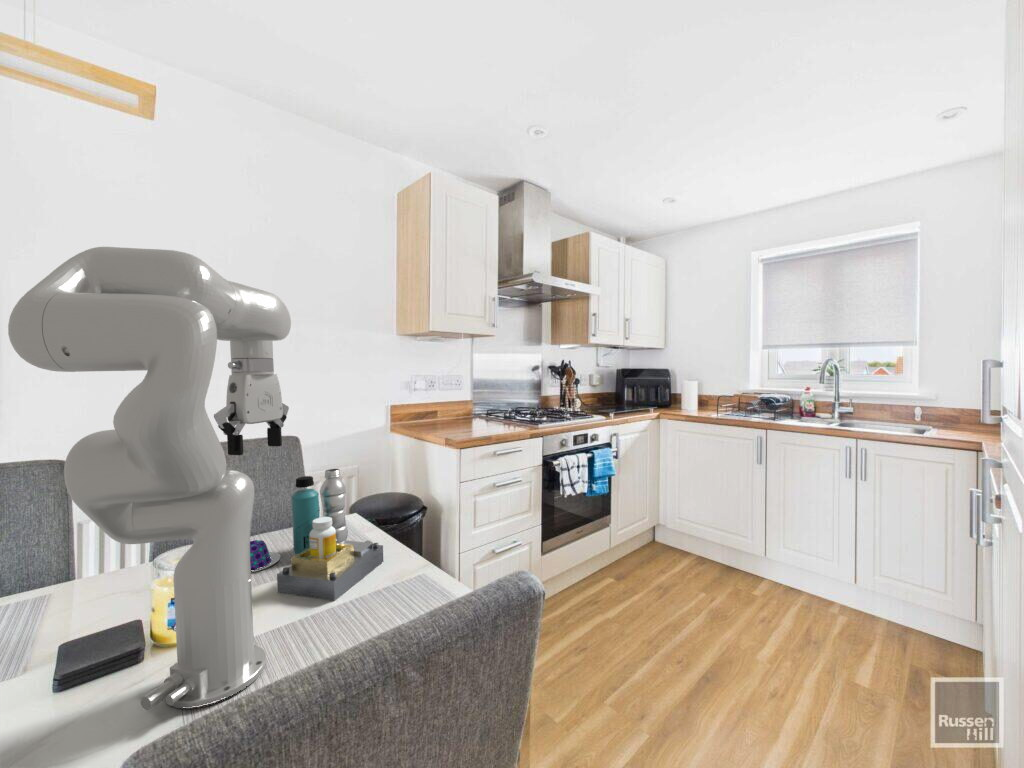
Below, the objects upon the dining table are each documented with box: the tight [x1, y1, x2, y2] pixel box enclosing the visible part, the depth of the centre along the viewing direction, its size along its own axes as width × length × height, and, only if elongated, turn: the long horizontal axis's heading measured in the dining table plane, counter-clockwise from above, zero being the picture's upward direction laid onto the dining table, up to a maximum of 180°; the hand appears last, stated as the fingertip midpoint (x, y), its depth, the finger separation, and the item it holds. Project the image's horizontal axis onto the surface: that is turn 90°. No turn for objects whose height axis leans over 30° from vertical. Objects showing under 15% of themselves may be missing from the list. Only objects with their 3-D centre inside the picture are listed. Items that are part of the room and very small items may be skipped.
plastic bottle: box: [319, 468, 349, 542], centre depth 115 cm, size 6×7×20 cm
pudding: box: [250, 539, 281, 573], centre depth 104 cm, size 12×12×5 cm
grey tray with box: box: [276, 539, 384, 601], centre depth 99 cm, size 21×14×6 cm, turn 165°
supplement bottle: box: [309, 516, 336, 559], centre depth 95 cm, size 5×5×10 cm
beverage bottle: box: [290, 475, 321, 555], centre depth 108 cm, size 6×7×20 cm
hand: (256, 450), depth 89 cm, fingers open, 9 cm apart
